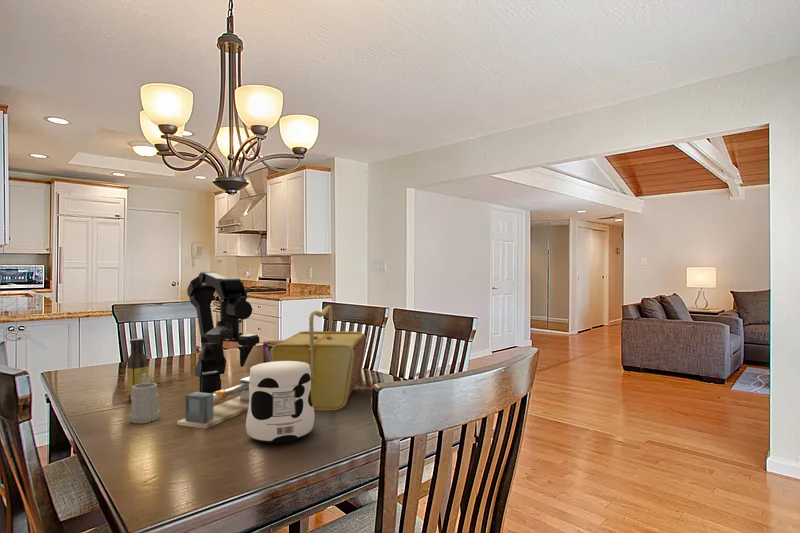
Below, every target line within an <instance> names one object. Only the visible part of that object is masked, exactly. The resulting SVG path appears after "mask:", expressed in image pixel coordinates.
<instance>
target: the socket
mask: <svg viewBox="0 0 800 533" xmlns="http://www.w3.org/2000/svg"><path fill="white" fill-rule="evenodd" d="M213 407H214V403H213V394H212V393H202V392H198V391H195V392H191V393H189V394H186V395H185V418H186V421H189V422H197V423H205V422H207V421H210V420H212V419H213Z"/></svg>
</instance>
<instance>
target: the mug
mask: <svg viewBox="0 0 800 533" xmlns="http://www.w3.org/2000/svg"><path fill="white" fill-rule="evenodd" d="M146 376H147V375H146V374H142V383H141V384H137V385H134V386H132V396H131V401H130V402H131V406H130V407H131V410H130V413H129V418H130V422H131V423H132V422H133V424H138V423H139V424H147V422H148V423H152V422H154V421H157V420H158V419H159V415H160V414H161V413H160V412H161V410H160V409H159V392H158V384H157V383H156V382H149V383H147V377H146ZM151 421H152V422H151Z"/></svg>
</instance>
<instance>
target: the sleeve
mask: <svg viewBox="0 0 800 533" xmlns="http://www.w3.org/2000/svg"><path fill="white" fill-rule="evenodd" d="M245 382H249V376H247V377H244V378H241V379H240V380H239V385H240V384H242V383H245ZM239 396H240V400H245V401H249V389H248V390H245V391H243V392H240V393H239Z"/></svg>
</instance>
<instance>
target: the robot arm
mask: <svg viewBox="0 0 800 533" xmlns="http://www.w3.org/2000/svg"><path fill="white" fill-rule="evenodd" d="M186 293H187V296H188V298H189V302H190V303H191V304H192V306H193V307H194V308H195V309H196V314H197V315H196V317H197V323H198V328H199V335H200V343H201V350H200V352H199V354H198V361H197V363H196V365H195V367H194V376H195V377H197V378H199V390H198V391H197V392H202V393H213V392H216V391H218V390H221V389H222V379H221V375H224V374H225V372H226V367H227V359H226V357H225V353H224V348H223V345H224V342H230V343H231V342H232V343H237V344H238V346H237V349H238V350H239V365H240V367H241V368H242V367H244V366H245V363H246V362H247V360H248V358H249V354H251V352H252V350H253V348H254V347H256V346H257V345H259V344H260V336H259V335H258V334H254V333H253V334H252V333H249V334H248V333H247V334H243V332H242V331H240V323H242V322H243V321H242V320H247V319H249V317H251V315H252V313H253V306H252V304H251V303H250V302H249V301H247V299H248V292H247V290H246V287H245V286H244V283H243V281H242V279H241V278H239V277H226V276H223V275H221V274H218V273H216V272H214V271H202V272H199V274H198V276H196V277H195V278H193V279H192V280H190V283H189V285H188V286H187V291H186ZM215 293H216V294H218V297H219V300H218V302H219V303H220V304H219V306H220V307H219V308H220V309H219V310H220V313H219V314H220V315H219V320H217V322H216V326H214V320H213V313H212V306H211V304H212V303H213V300H214V298H215Z"/></svg>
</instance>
